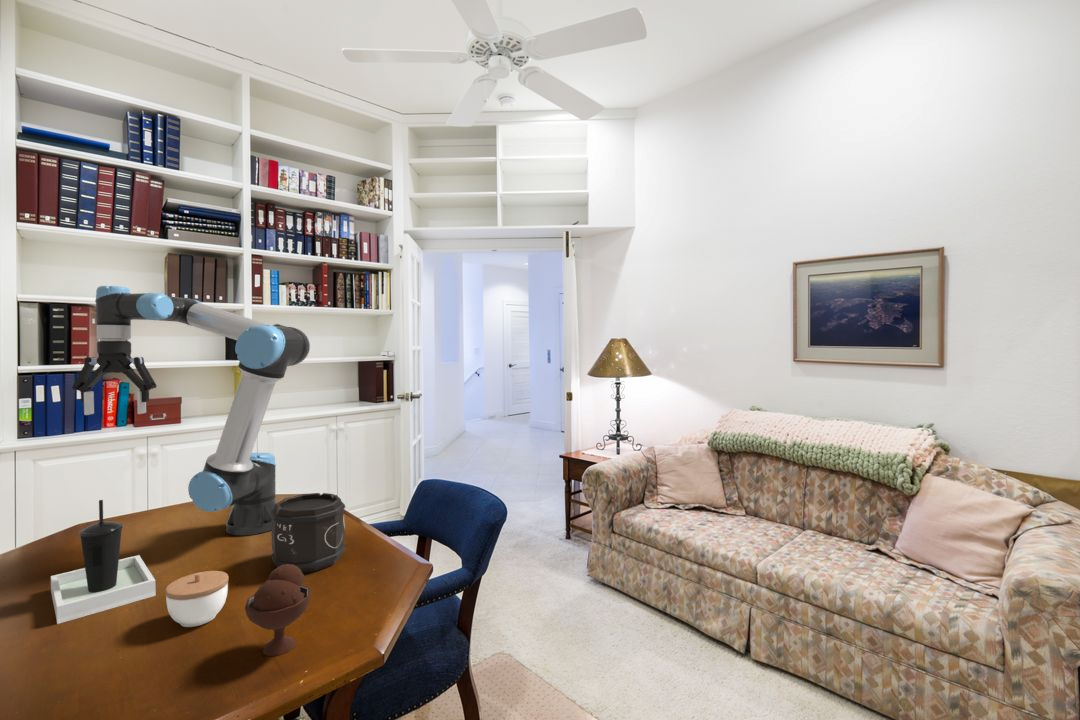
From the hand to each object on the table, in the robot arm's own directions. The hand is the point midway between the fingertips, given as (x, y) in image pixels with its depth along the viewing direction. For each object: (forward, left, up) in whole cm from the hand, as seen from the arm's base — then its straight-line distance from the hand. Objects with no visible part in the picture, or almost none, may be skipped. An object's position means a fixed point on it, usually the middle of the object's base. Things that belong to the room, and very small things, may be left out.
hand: (115, 414), depth 145 cm
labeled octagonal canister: (-59, +23, -37) cm, 73 cm away
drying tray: (-18, +35, -37) cm, 54 cm away
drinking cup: (-18, +35, -36) cm, 53 cm away
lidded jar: (-45, +50, -37) cm, 77 cm away
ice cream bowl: (-65, +63, -37) cm, 98 cm away
